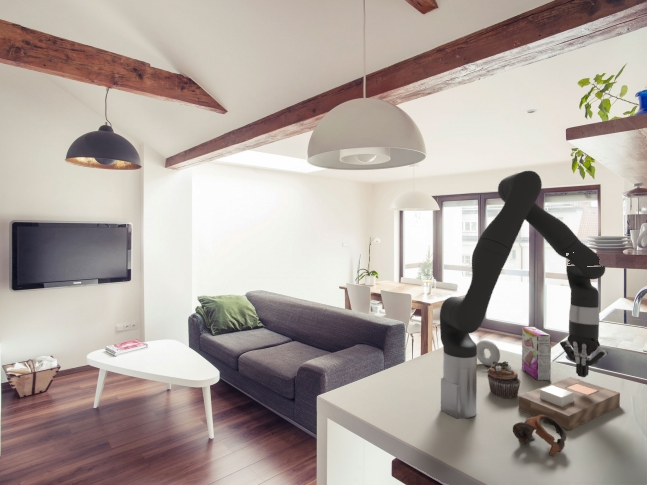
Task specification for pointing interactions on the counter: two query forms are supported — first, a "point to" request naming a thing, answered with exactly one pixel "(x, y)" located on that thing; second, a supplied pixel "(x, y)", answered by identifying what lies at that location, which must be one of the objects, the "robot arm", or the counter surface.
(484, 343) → the donut
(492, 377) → the cupcake
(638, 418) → the counter surface
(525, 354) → the candy bar box
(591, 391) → the terracotta key
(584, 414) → the key panel
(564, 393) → the white rectangular block
